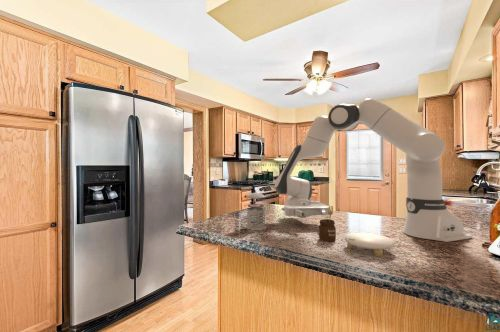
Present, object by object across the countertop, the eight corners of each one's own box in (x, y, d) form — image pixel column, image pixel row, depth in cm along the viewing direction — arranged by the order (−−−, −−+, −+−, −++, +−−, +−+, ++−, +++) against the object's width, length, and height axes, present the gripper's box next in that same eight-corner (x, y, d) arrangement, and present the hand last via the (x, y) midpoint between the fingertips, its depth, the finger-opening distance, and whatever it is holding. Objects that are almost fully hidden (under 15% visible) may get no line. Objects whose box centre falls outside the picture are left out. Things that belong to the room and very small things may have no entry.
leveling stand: (373, 241, 86) (373, 231, 86) (404, 256, 72) (404, 243, 72) (336, 243, 84) (336, 233, 84) (360, 259, 70) (360, 246, 70)
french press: (241, 226, 109) (241, 170, 109) (263, 223, 114) (263, 170, 114) (250, 231, 101) (250, 170, 101) (274, 228, 105) (274, 170, 105)
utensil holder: (315, 239, 89) (315, 206, 89) (324, 236, 93) (324, 205, 93) (330, 243, 84) (330, 208, 85) (339, 239, 89) (339, 206, 89)
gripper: (280, 201, 113) (289, 206, 99) (321, 200, 116) (336, 205, 102) (280, 215, 113) (289, 222, 99) (321, 214, 116) (336, 220, 102)
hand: (313, 213), depth 101 cm, fingers open, 8 cm apart
